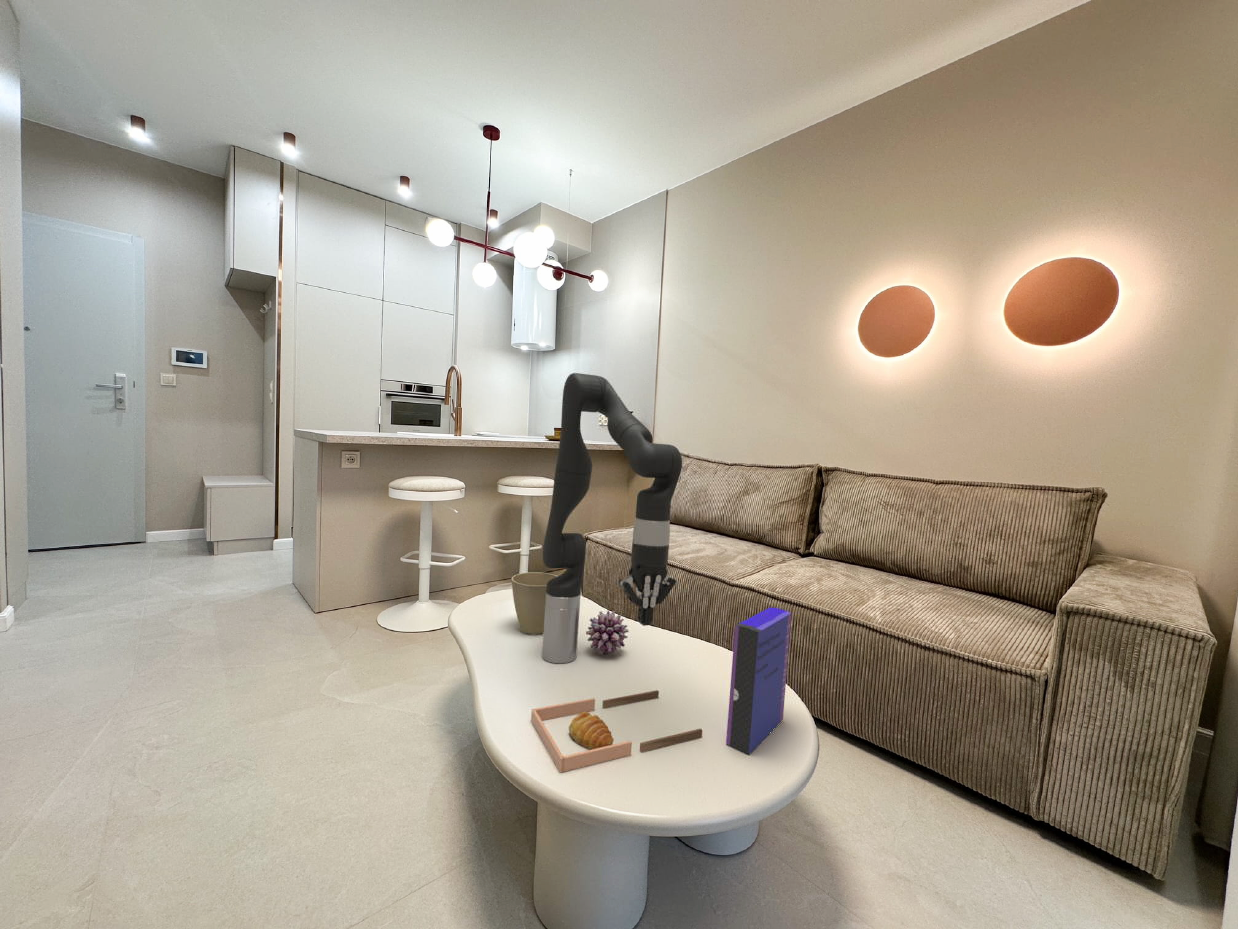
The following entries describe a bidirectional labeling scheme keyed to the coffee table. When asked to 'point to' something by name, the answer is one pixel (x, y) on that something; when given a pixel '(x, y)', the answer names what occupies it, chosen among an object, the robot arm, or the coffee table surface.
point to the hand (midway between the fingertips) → (644, 624)
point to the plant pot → (530, 600)
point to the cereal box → (758, 678)
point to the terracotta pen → (578, 758)
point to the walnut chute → (656, 742)
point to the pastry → (590, 731)
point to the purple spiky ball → (607, 632)
